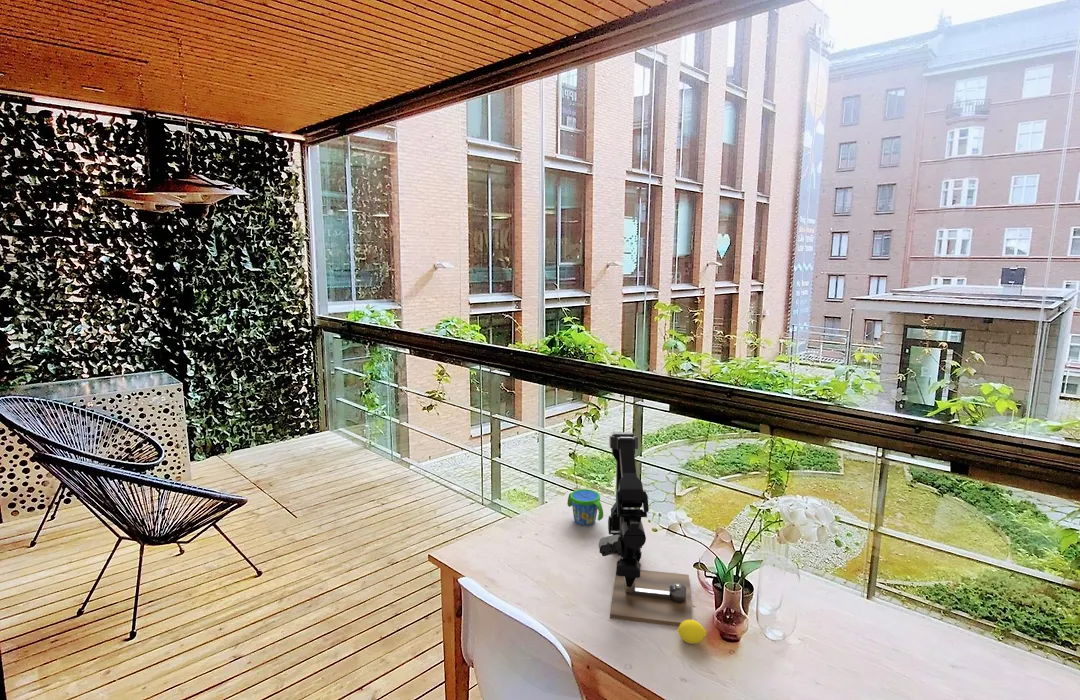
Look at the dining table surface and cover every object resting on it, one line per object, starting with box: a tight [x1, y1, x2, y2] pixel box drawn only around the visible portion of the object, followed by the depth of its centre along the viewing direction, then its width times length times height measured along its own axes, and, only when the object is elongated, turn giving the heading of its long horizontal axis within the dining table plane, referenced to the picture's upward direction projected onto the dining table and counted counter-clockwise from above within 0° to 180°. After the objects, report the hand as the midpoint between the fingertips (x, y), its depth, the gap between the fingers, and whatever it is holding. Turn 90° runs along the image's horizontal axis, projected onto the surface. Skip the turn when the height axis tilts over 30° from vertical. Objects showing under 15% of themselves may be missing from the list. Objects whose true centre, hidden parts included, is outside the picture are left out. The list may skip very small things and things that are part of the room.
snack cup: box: [566, 488, 604, 527], centre depth 202 cm, size 16×10×10 cm
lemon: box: [677, 619, 708, 645], centre depth 139 cm, size 7×5×5 cm
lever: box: [624, 577, 686, 603], centre depth 155 cm, size 17×4×7 cm, turn 78°
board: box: [609, 569, 693, 628], centre depth 158 cm, size 23×21×1 cm
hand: (629, 583), depth 157 cm, fingers open, 3 cm apart
